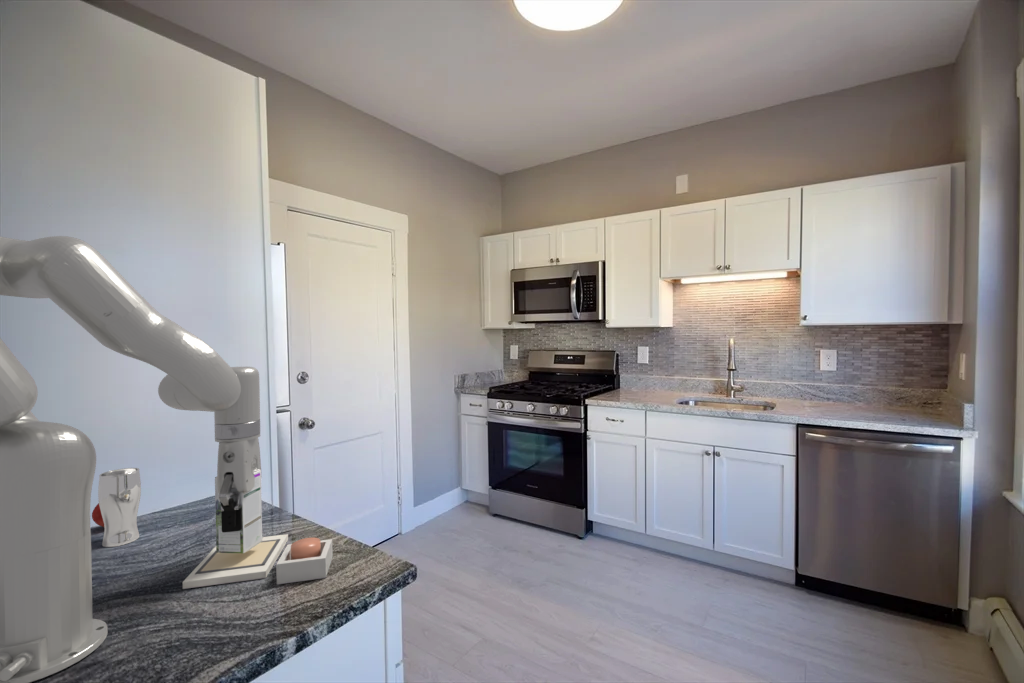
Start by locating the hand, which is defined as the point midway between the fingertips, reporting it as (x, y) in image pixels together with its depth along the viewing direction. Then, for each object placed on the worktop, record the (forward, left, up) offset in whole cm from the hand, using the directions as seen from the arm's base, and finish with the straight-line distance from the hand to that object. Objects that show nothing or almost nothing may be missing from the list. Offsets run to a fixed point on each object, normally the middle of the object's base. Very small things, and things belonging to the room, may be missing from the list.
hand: (239, 522), depth 86 cm
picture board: (0, 0, -8) cm, 8 cm away
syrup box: (0, 0, -5) cm, 5 cm away
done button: (-7, -13, -5) cm, 16 cm away
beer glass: (+18, +29, -8) cm, 35 cm away
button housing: (-7, -13, -8) cm, 17 cm away
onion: (+27, +36, -8) cm, 46 cm away
